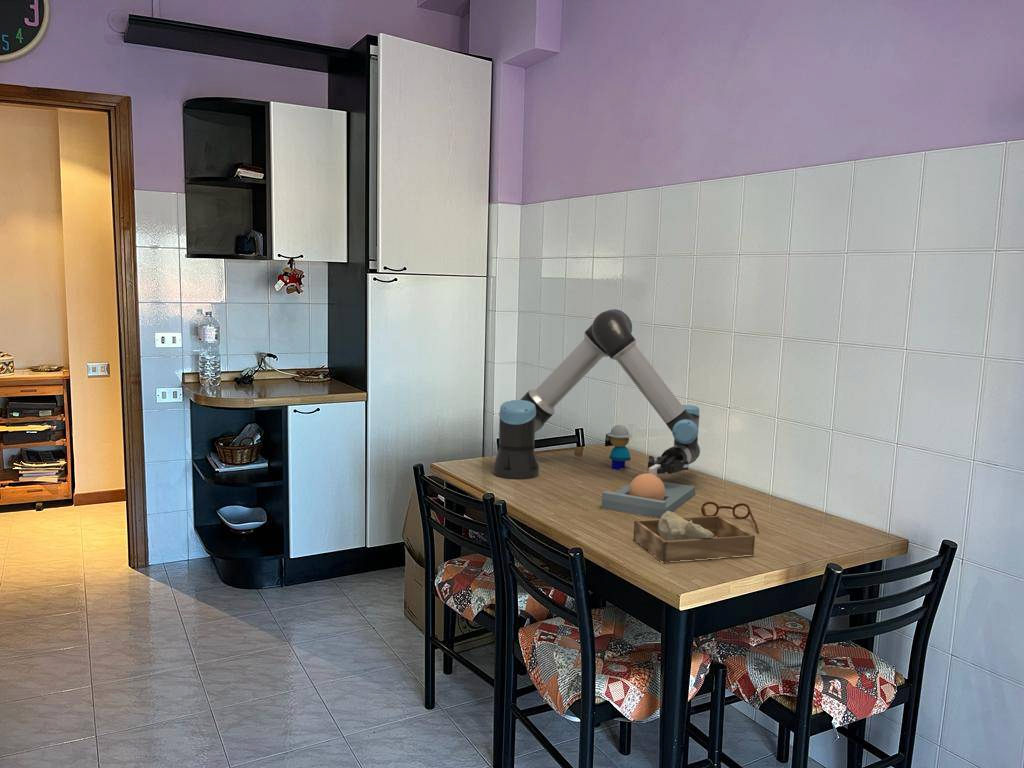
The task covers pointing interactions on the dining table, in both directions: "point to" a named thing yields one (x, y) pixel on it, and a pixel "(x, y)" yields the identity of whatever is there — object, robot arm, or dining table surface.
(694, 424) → the robot arm
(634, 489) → the ball
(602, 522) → the dining table surface
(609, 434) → the toy
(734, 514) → the glasses
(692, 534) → the beige irregular lump
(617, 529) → the dining table surface
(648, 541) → the wooden tray
